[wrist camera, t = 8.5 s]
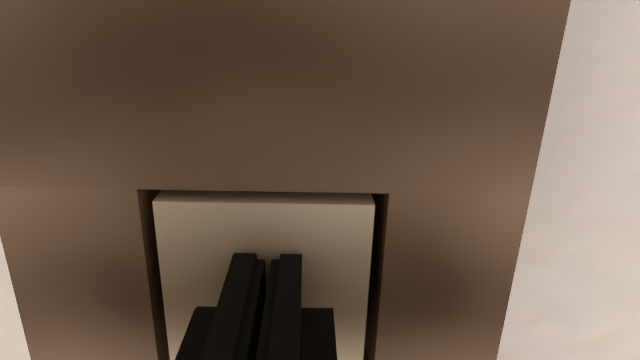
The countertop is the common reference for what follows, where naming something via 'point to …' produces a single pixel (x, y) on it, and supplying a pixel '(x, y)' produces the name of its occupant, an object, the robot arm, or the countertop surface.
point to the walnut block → (270, 151)
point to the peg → (266, 251)
